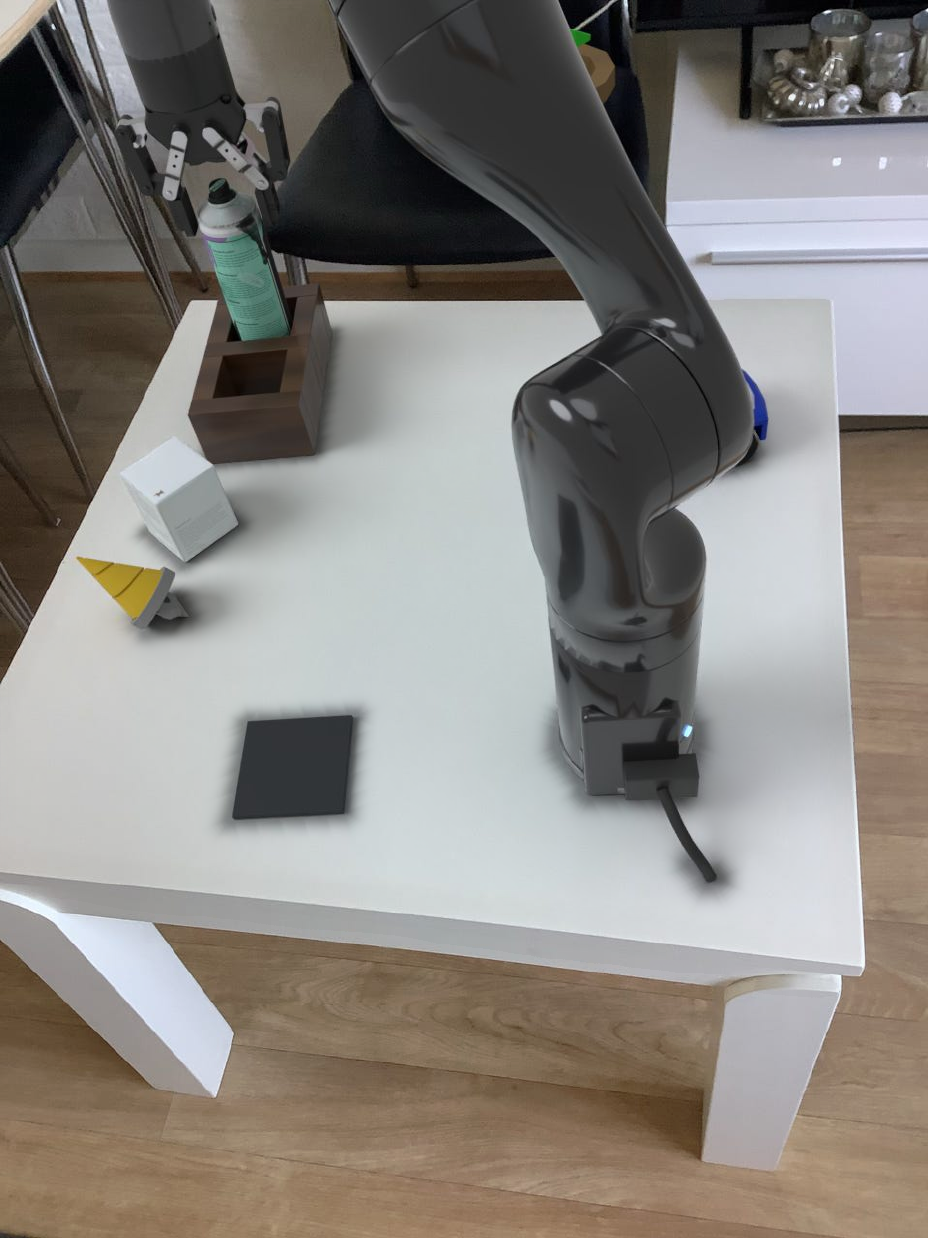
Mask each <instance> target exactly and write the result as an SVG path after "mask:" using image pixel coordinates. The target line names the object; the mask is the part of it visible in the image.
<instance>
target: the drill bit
mask: <svg viewBox="0 0 928 1238" xmlns="http://www.w3.org/2000/svg"><path fill="white" fill-rule="evenodd" d="M75 559H76V560H77V561H78V562H79V563H80V565H81V566H83V568H84V569H85V570H86V571H87V573H89V574H90V575H91V576H92V577H93V579H94V580H95V581H96V582H97V583H98V584H99V585H100V586H101V587H102V588H103V590H105V591H106V592H107V593H108V594H109V595H110V596H111V598H112V599H113V600H114V601H115V602H116V603H117V604H118V605H119V607H121V608H122V609H123V611H125V613H126V614H127V615H128V616H129V617H130V618H131V621H130V623H131V624H130V625H132V626H133V627H136V628H138V629H140V630H145V629H146V627H148V626H149V624H150V623H151V621H152V620H153V619H154V617H155V616H156V615H157V616H159V617H161V618H163V619H165V620H173V619H176V618H177V617H178V618H179V617H181V618H190V615H189V614H188V612H187V611H186V610H185V608H184V607H183V606H182V604H181V603H180V601H179V600H178V598H177V597H176V595H175V594H174V593H172V592H170V589H171V588H172V585H173V583H174V580H175V577H176V572H175V571H174V570H172V569H170V568H168V567H166V566H162V567H161V568H160V569H156V568H151V567H150V568H149V567H143V566H137V565H131V564H125V563H118V562H114V561H107V560H100V559H94V558H89V557H81V556H76V557H75Z"/></svg>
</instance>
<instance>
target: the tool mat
mask: <svg viewBox="0 0 928 1238" xmlns="http://www.w3.org/2000/svg"><path fill="white" fill-rule="evenodd" d="M353 719H354V718H353V716H352V714H346V715H331V716H330V715H329V716H309V717H296V718H295V717H294V718H280V719H279V718H277V719H263V720H247V724H246V729H245V736H244V741H243V748H242V753H241V759H240V765H239V772H238V778H237V784H236V790H235V794H234V800H233V808H232V812H231V813H232V814H231V818H232V819H233V820H241V819H243V820H244V819H260V818H261V819H262V818H283V817H304V816H322V815H341V814H342V815H343V814H345V805H346V793H347V782H348V774H349V772H348V771H349V761H350V751H351V739H352V728H353Z"/></svg>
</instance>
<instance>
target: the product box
mask: <svg viewBox="0 0 928 1238" xmlns="http://www.w3.org/2000/svg"><path fill="white" fill-rule="evenodd" d="M118 475H119V477H120V479H121V480H122V483H123V485H124V487H125V488H126V490H127V492H128V494H129V495H130V497H131V499H132V501H133V503H134V505H135V507H136V509H137V510H138V512H139V514H140V516H141V518H142V520H143V522H144V523H145V525H146V528H147V530H148V532H149V533H150V534H151V535H152V536H153V537H154V538H155V539H157V540H158V541H159V542H160V543H161V544H162V545H163V546H165V547H166V548H167V549H168V550H169V551H170V552H172V553H173V555H175V557H178V559H180V560H181V561H182V562H183V563H186V562H188V561H190V560H191V559H193V558H194V557H196V556H197V555H198V554H200V553H201V552H203V551H204V550H205V549H207V548H208V547H210V546H211V545H213V544H214V543H215V542H216V541H218V540H219V539H221V538H222V537H223V536H225V535H226V534H228V533H230V532H231V531H232V530H234V529H235V528H236V527H237V526H238V525H239V521H238V520H237V517H236V515H235V512H234V510H233V508H232V505H231V503H230V501H229V498H228V497H227V496H228V495H227V494H226V492H225V489H224V487H223V484H222V481H221V480H220V478H219V477H220V476H219V475H218V473H217V470H216V467H215V465H214V464H212V463H210V462H209V461H208V460H207V459H206V457H205V456H202V454H200V453H199V452H198V451H197V450H195V449H194V448H193V447H191V446H190V445H189V444H188V443H186V442H185V441H183V440H182V439H181V438H180V437H178V436H177V435H174V436H173V437H171V438H170V439H168V440H166V441H165V442H163V443H161V444H160V445H158V446H156V448H154V449H153V450H151V451H150V452H148V453H147V454H145V455H144V456H143V457H141V458H140V459H138V460H137V461H135V462H133V463H132V464H130V465H129V466H128V467H126V468H124V469H123V470H122V471H119V474H118Z"/></svg>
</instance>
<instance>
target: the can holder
mask: <svg viewBox="0 0 928 1238" xmlns="http://www.w3.org/2000/svg"><path fill="white" fill-rule="evenodd" d="M282 288H283V291H284V294H285V298H286V301H287V304H288V308H289V311H290V314H291V318H292V321H293V324H292V329H291V335H290V336H286V337H276V338H266V339H256V340H245V341H240V340H239V337H238V334H237V332H236V329H235V326H234V323H233V320H232V317H231V315H230V312H229V309H228V306H227V303H226V300H225V298H224V295H223V292H220V293H219V295H218V298H217V302H216V306H215V310H214V312H213V313H214V314H213V317H212V322H211V326H210V328H209V333H208V337H207V340H206V344H205V347H204V352H203V355H202V359H201V363H200V367H199V370H198V375H197V379H196V381H195V382H196V383H195V386H194V390H193V393H192V397H191V400H190V405H189V408H188V411H187V418H188V420H189V422H190V424H191V427H192V429H193V431H194V433H195V436H196V438H197V440H198V443H199V446H200V447H201V449H202V452H203V455H204V458H205V459H206V460H208V461H209V462H210V463H212V464H213V465H214V464H223V463H224V464H225V463H236V462H237V463H238V462H247V461H248V462H249V461H259V460H271V459H281V458H293V457H305V456H315V455H316V448H317V441H318V434H319V426H320V420H321V414H322V406H323V399H324V392H325V386H326V385H325V384H326V378H327V372H328V371H327V370H328V364H329V358H330V351H331V344H332V338H333V328H332V326H331V323H330V319H329V315H328V311H327V307H326V304H325V300H324V296H323V292H322V289H321V285H320V282H314V283H306V284H305V283H304V284H296V285H286V286H282Z"/></svg>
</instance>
